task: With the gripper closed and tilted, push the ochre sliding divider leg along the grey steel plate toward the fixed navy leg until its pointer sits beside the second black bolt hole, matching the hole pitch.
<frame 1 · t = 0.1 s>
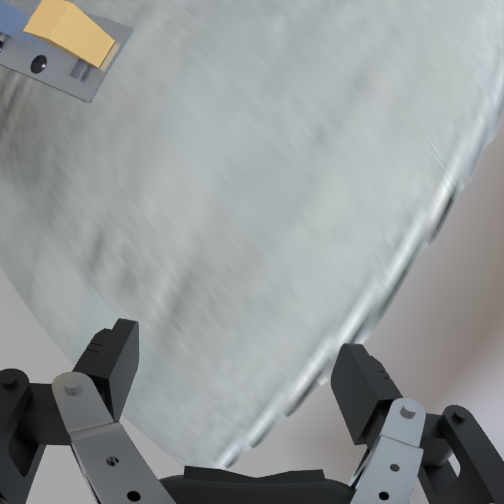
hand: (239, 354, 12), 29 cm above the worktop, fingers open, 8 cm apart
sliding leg: (68, 44, 25), point 8 cm above the worktop, slide at 0.0 cm
fixed leg: (13, 24, 29), resting on bolt plate
bolt plate: (45, 40, 31), on the worktop
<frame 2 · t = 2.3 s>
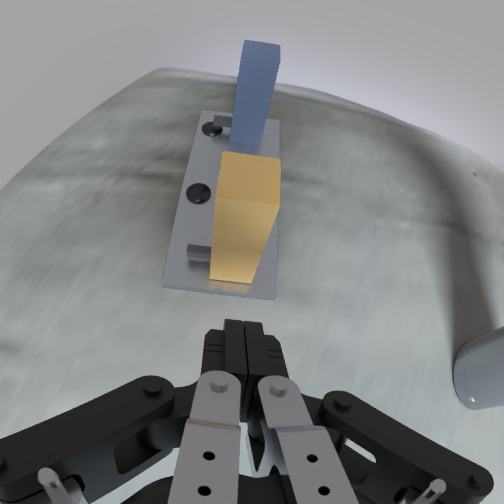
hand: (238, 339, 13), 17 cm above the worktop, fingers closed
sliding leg: (224, 226, 26), point 8 cm above the worktop, slide at 0.0 cm
fixed leg: (245, 138, 42), resting on bolt plate
bolt plate: (230, 188, 38), on the worktop
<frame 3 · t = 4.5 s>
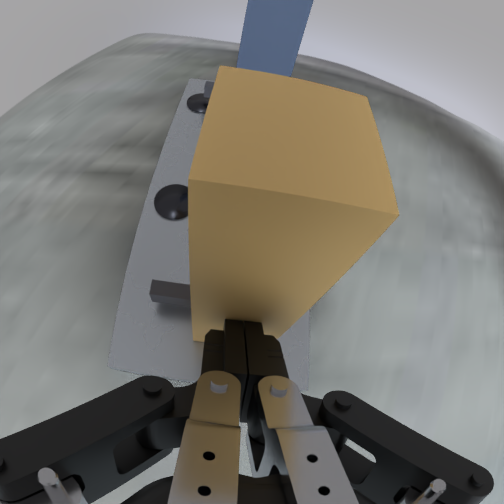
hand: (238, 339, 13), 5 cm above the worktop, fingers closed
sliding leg: (219, 254, 12), point 8 cm above the worktop, slide at 1.2 cm, touching gripper
fixed leg: (251, 118, 27), resting on bolt plate
bolt plate: (229, 194, 23), on the worktop
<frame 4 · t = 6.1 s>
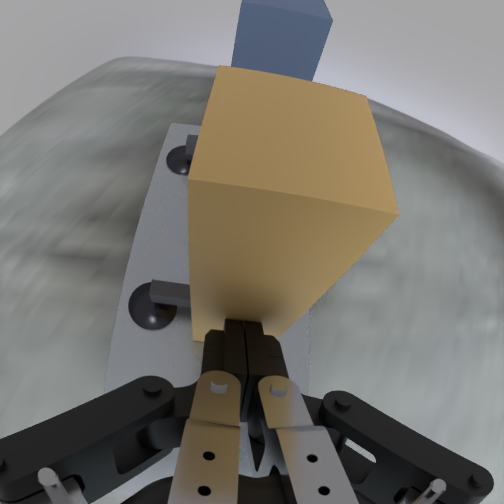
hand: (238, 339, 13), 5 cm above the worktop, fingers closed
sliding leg: (219, 254, 12), point 8 cm above the worktop, slide at 8.3 cm, touching gripper
fixed leg: (244, 176, 24), resting on bolt plate
bolt plate: (217, 287, 20), on the worktop
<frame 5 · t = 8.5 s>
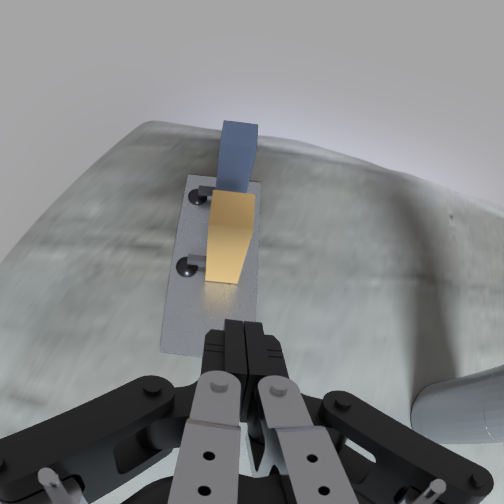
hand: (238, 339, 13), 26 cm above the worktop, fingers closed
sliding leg: (215, 241, 35), point 8 cm above the worktop, slide at 8.4 cm
fixed leg: (228, 204, 47), resting on bolt plate
bolt plate: (215, 259, 43), on the worktop
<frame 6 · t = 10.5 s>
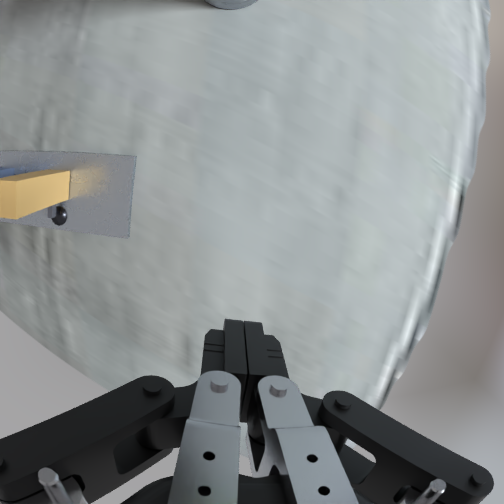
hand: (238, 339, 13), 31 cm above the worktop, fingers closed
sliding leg: (33, 200, 33), point 8 cm above the worktop, slide at 8.4 cm
fixed leg: (8, 179, 38), resting on bolt plate
bolt plate: (52, 189, 40), on the worktop
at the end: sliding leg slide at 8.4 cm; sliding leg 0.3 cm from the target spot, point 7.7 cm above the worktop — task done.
